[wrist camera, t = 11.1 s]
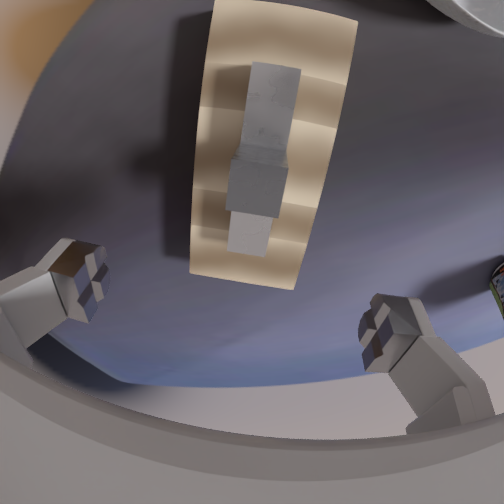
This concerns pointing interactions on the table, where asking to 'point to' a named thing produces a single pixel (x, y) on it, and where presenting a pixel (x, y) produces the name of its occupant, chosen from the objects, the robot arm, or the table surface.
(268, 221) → the gray u-shaped bracket
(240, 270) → the beige flat rectangular block
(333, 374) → the table surface
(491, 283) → the beverage can
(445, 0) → the cereal bowl
